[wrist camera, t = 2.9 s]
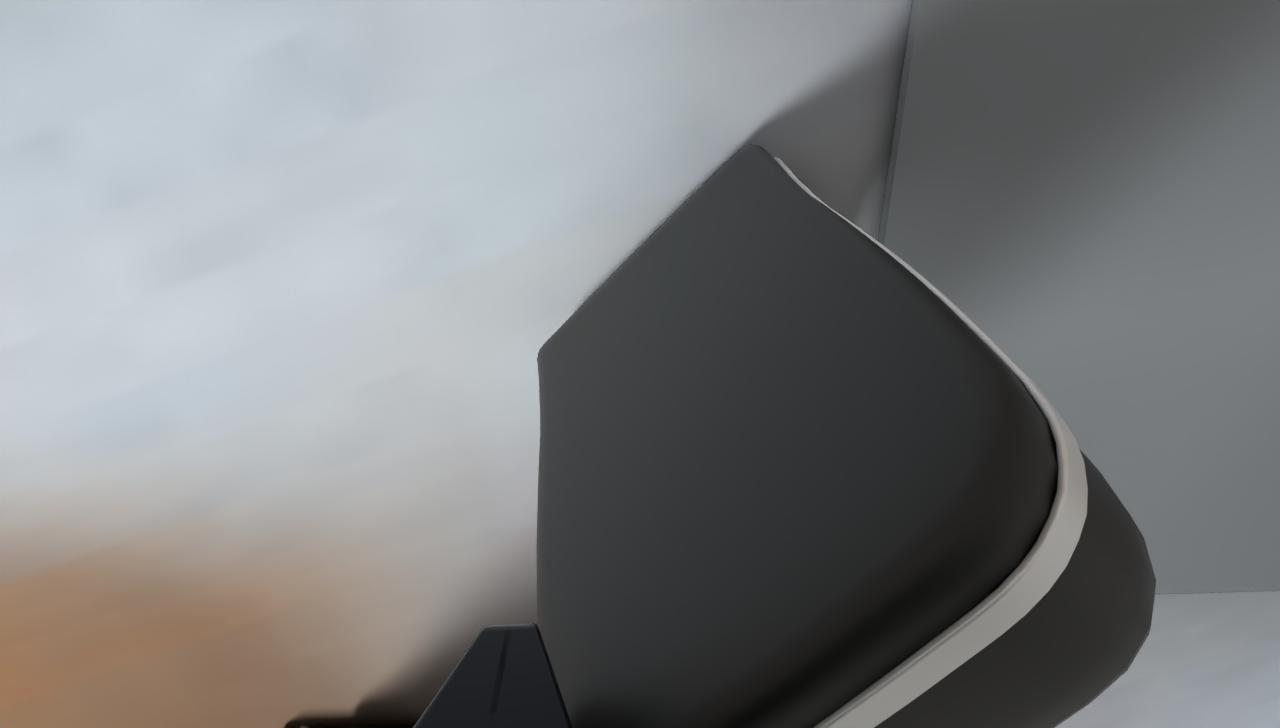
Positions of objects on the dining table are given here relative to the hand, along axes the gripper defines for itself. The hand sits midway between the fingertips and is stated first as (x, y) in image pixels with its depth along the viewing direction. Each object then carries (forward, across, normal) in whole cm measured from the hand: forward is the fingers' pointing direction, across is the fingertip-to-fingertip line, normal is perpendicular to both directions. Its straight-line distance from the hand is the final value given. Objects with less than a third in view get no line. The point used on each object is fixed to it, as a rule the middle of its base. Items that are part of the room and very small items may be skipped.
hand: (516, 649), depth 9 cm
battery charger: (+10, -3, 0) cm, 10 cm away
